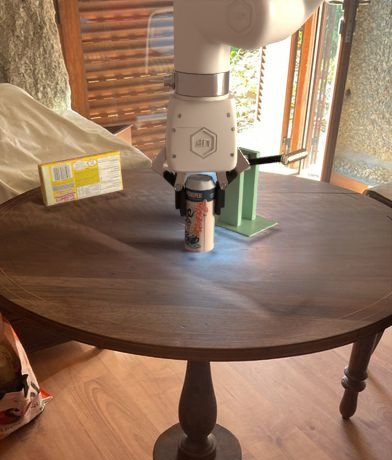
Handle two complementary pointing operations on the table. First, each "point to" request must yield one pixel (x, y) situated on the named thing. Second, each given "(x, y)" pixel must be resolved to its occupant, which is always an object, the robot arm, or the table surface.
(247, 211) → the bracket
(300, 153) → the lever
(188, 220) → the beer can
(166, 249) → the table surface
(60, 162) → the candy box
